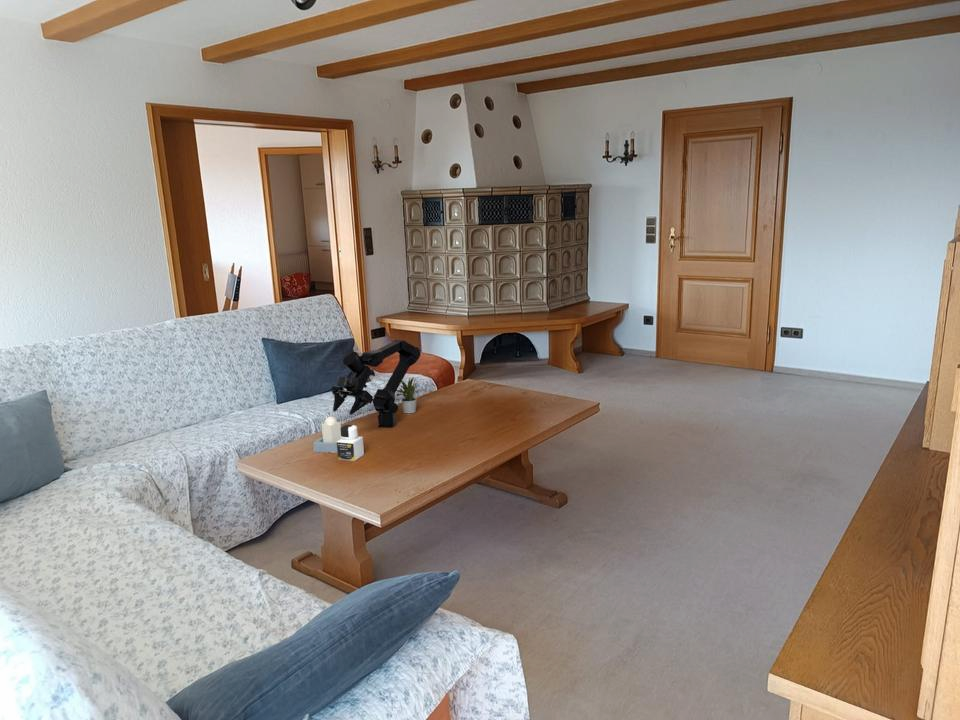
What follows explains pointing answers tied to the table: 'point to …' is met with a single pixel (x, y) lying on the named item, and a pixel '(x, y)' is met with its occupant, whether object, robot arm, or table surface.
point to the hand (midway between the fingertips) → (341, 412)
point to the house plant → (408, 396)
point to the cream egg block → (331, 430)
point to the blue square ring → (324, 446)
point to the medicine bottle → (350, 444)
